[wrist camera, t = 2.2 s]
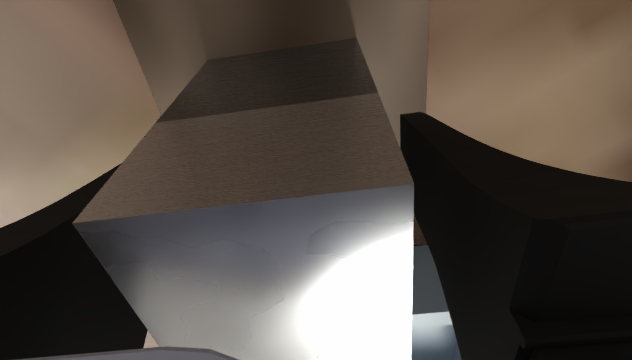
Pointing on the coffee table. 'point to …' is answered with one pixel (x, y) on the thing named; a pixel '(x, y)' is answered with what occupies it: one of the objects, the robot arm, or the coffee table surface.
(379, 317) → the grey rectangular block
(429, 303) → the bin
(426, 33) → the base
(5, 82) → the coffee table surface
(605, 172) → the coffee table surface
